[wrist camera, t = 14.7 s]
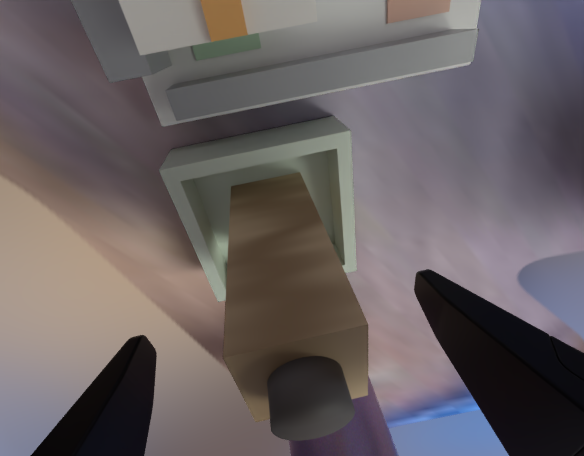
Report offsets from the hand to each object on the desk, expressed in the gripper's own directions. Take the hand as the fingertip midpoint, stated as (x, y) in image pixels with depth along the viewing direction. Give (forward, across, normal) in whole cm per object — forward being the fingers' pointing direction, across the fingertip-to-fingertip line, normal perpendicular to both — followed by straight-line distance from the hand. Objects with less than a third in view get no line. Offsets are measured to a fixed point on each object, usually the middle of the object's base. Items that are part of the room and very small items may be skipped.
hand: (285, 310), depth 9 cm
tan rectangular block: (+7, 0, 0) cm, 7 cm away
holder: (+7, 0, 0) cm, 7 cm away
